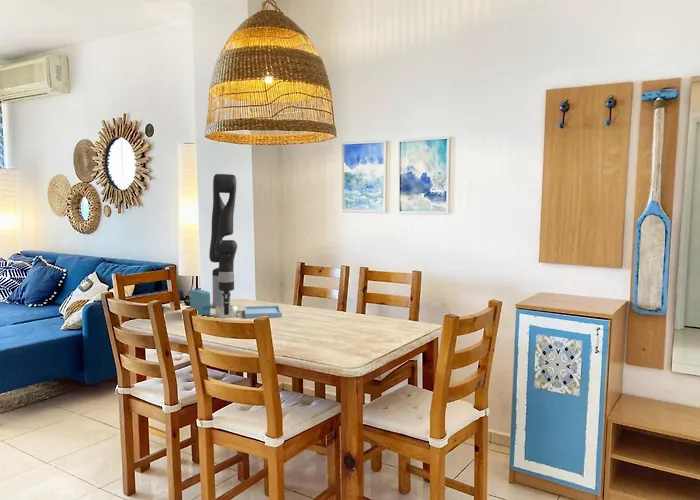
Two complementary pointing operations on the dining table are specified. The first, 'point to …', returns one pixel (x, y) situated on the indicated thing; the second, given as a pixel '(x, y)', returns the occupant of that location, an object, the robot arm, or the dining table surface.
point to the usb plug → (232, 312)
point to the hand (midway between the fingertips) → (226, 312)
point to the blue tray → (262, 311)
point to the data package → (200, 301)
